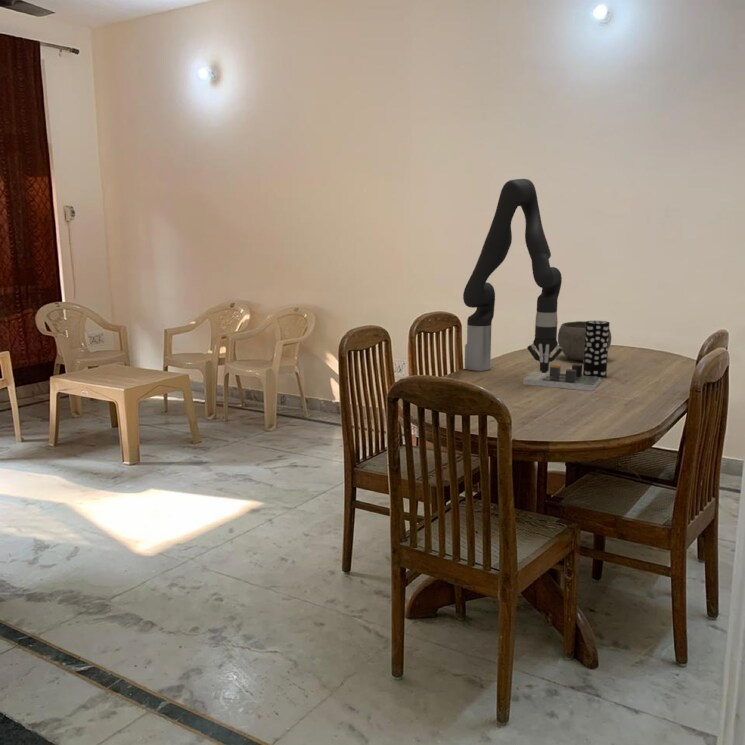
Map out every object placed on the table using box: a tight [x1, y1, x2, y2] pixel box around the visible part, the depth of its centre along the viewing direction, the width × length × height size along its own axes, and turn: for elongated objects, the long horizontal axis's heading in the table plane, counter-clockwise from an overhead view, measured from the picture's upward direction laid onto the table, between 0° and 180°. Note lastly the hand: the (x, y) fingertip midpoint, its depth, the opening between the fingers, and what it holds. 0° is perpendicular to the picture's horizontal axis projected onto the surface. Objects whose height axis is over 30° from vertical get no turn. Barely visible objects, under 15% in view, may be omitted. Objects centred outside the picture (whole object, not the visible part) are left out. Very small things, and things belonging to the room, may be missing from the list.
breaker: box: [549, 363, 562, 377], centre depth 272 cm, size 3×3×4 cm
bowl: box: [557, 320, 612, 362], centre depth 313 cm, size 21×21×15 cm
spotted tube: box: [582, 320, 610, 379], centre depth 282 cm, size 8×8×20 cm
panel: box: [522, 363, 602, 392], centre depth 271 cm, size 24×14×6 cm, turn 64°
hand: (544, 372), depth 274 cm, fingers closed
